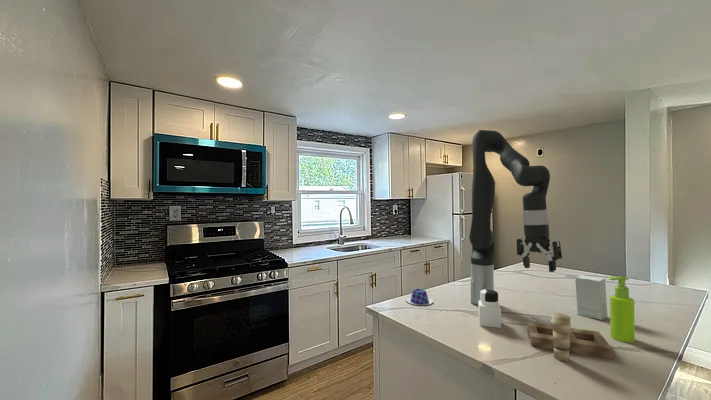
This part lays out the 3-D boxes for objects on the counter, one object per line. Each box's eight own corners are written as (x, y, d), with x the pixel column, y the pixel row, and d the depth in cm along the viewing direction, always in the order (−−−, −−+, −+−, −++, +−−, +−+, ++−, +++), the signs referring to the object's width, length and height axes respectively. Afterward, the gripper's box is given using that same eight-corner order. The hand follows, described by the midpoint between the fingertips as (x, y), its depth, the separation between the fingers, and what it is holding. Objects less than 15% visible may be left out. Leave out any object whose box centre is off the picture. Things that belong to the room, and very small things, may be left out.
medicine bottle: (499, 320, 115) (498, 288, 115) (501, 328, 108) (501, 294, 108) (478, 318, 117) (478, 287, 117) (479, 325, 110) (479, 292, 110)
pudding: (439, 303, 136) (438, 291, 136) (420, 308, 129) (419, 296, 129) (418, 296, 146) (418, 285, 146) (400, 301, 139) (400, 289, 139)
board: (531, 346, 95) (531, 335, 95) (527, 330, 106) (527, 321, 106) (612, 359, 87) (612, 347, 87) (599, 341, 98) (598, 331, 98)
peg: (553, 360, 86) (553, 317, 86) (551, 353, 90) (550, 312, 90) (572, 363, 84) (572, 320, 84) (569, 356, 88) (568, 314, 88)
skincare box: (607, 317, 117) (607, 278, 117) (601, 321, 114) (601, 280, 114) (582, 310, 124) (581, 274, 124) (575, 314, 121) (575, 276, 121)
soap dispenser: (602, 335, 102) (602, 274, 102) (622, 334, 102) (621, 274, 102) (619, 343, 96) (618, 279, 96) (639, 342, 97) (639, 278, 97)
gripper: (510, 223, 111) (513, 268, 111) (550, 224, 98) (554, 275, 98) (522, 221, 115) (526, 265, 114) (563, 222, 102) (567, 271, 102)
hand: (539, 269), depth 106 cm, fingers open, 8 cm apart
